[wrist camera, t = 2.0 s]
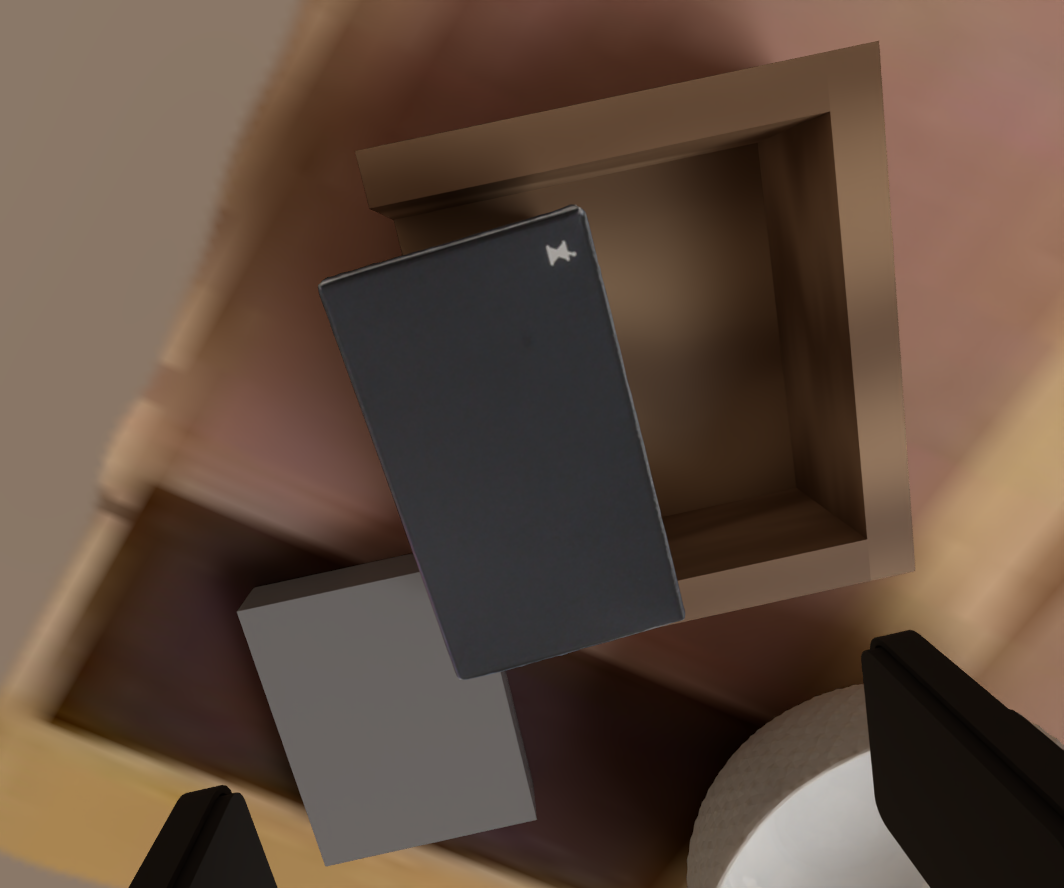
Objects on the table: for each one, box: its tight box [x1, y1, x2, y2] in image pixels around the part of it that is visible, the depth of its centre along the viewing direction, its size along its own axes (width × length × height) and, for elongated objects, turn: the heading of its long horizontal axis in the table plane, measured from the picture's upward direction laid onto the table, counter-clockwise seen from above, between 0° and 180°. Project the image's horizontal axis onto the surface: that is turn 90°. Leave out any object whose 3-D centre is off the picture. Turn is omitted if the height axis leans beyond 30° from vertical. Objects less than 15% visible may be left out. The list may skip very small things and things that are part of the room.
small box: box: [318, 204, 685, 680], centre depth 21 cm, size 11×6×10 cm, turn 16°
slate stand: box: [237, 553, 537, 866], centre depth 29 cm, size 12×9×2 cm
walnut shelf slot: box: [355, 41, 915, 627], centre depth 24 cm, size 16×14×6 cm
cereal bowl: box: [686, 684, 1064, 888], centre depth 29 cm, size 17×17×7 cm
